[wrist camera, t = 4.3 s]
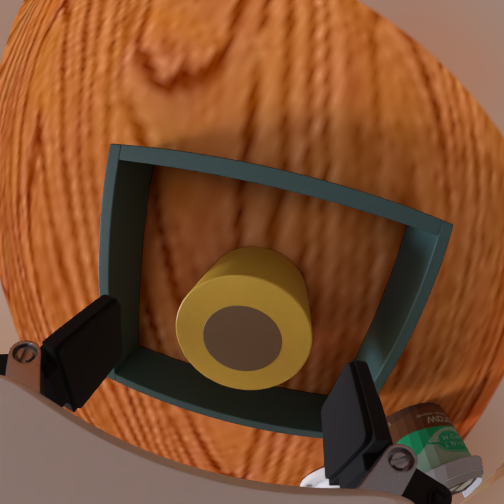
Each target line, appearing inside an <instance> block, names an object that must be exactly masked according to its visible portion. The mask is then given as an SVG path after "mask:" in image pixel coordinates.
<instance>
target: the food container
mask: <svg viewBox="0 0 504 504" xmlns="http://www.w3.org/2000/svg"><path fill="white" fill-rule="evenodd" d="M386 420H387V424H388V427H389V431H390V434H391V438H392V442H393V444H404V445H406V446H409V447H410V448H411V449H413V451H414V452H415V453H416V455H417V458H418V465H417V469H419V470H420V471H422V472H424V473H425V474H427V475H428V476H430V477H432V478H433V479H435V480H436V481H438V482H440V483H441V484H443V485H445V486H446V487H447V488H448V489H449V490H450V492H451V495H454V494H457V493H459V492H462V493H463V495H464V497H467V496H468V495H469V494H470V493H471V492H473V491H474V490H475V489H476V488H477V487H478V486H479V485H480V483H481V482H482V475H483V466H482V459H481V457H480V456H477V455H476V456H471V455H470V453H469V451H468V449H467V447H466V446H465V444H464V442H463V441H462V439H461V437H460V436H459V434H458V432H457V431H456V429H455V428H454V426H453V424H452V423H451V421H450V420H449V418H448V416H447V415H446V413H445V412H444V410H443V409H442V408H441V407H440V405H437V404H434V403H423V404H418V405H414V406H411V407H408V408H405V409H403V410H400V411H398V412H396V413H394V414H392V415H390V416H389V417H387V418H386Z"/></svg>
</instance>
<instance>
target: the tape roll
mask: <svg viewBox="0 0 504 504" xmlns="http://www.w3.org/2000/svg"><path fill="white" fill-rule="evenodd" d="M176 334H177V339H178V342H179V345H180V347H181V350H182V351H183V353H184V355H185V357H186V358H187V359H188V361H189V362H190V363H191V364H192V365H193V366H194V367H195V368H196V369H197V370H198V371H199V372H200V373H202V374H203V375H204V376H206V377H207V378H209V379H211V380H213V381H214V382H217V383H219V384H221V385H224V386H227V387H231V388H235V389H242V390H260V389H266V388H270V387H273V386H277V385H279V384H281V383H283V382H285V381H287V380H288V379H290V378H291V377H293V376H294V375H295V374H296V373H297V372H298V371H299V370H300V369H301V368H302V367H303V365H304V364H305V362H306V361H307V359H308V357H309V354H310V351H311V348H312V342H313V333H312V324H311V316H310V308H309V300H308V293H307V287H306V283H305V281H304V278H303V276H302V274H301V272H300V271H299V270H298V268H297V267H296V266H295V265H294V264H293V263H292V262H291V261H290V260H289V259H288V258H287V257H285V256H283V255H282V254H280V253H278V252H276V251H274V250H270V249H267V248H262V247H244V248H239V249H236V250H233V251H231V252H229V253H227V254H225V255H223V256H222V257H221V258H219V259H218V260H217V261H216V262H215V263H214V264H213V266H212V267H211V268H210V269H209V270H208V271H207V272H206V274H205V275H204V276H203V277H202V278H201V279H200V280H199V282H198V283H197V284H196V285H195V286H194V287H193V288H192V290H191V291H190V292H189V293H188V294H187V296H186V297H185V298H184V300H183V301H182V303H181V305H180V307H179V310H178V313H177V318H176Z"/></svg>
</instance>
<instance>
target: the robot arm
mask: <svg viewBox="0 0 504 504" xmlns="http://www.w3.org/2000/svg"><path fill="white" fill-rule="evenodd" d="M42 343H43V345H42V346H41V347H39V345H38V344H36V343H35V342H33V341H28V340H24V341H20V342H17V343H16V344H14V345H13V346H12V347H11V348H10V351H9V354H0V504H451V501H452V495H451V492H450V490H449V489H448V488H447V487H446V486H445V485H443V484H441V483H440V482H438V481H436V480H435V479H433V478H432V477H430V476H428V475H427V474H425V473H424V472H422V471H420V470H419V469H417V465H418V458H417V455H416V453H415V452H414V451H413V449H411V448H410V447H409V446H406V445H404V444H393V442H392V438H391V434H390V431H389V427H388V424H387V420H386V417H385V414H384V410H383V407H382V404H381V401H380V398H379V396H378V394H377V391H376V388H375V385H374V382H373V379H372V376H371V373H370V370H369V367H368V364H367V362H365V361H358V360H352V361H351V362H350V363H347V364H346V365H345V367H344V369H343V371H342V372H341V374H340V376H339V378H338V380H337V382H336V384H335V385H334V387H333V389H332V391H331V393H330V394H329V396H328V398H327V399H326V401H325V403H324V405H323V406H322V410H321V419H322V432H323V448H324V468H321V469H319V470H317V471H315V472H313V473H311V474H310V475H308V476H306V477H305V478H304V479H303V480H302V482H301V484H300V486H289V485H279V484H271V483H264V482H257V481H251V480H246V479H241V478H236V477H231V476H226V475H222V474H218V473H214V472H210V471H206V470H202V469H199V468H195V467H192V466H188V465H185V464H182V463H179V462H176V461H173V460H170V459H167V458H164V457H162V456H159V455H156V454H154V453H151V452H148V451H146V450H144V449H141V448H139V447H136V446H134V445H132V444H129V443H127V442H125V441H123V440H121V439H119V438H116V437H114V436H112V435H110V434H108V433H106V432H104V431H102V430H100V429H99V428H97V427H95V426H93V425H91V424H89V423H88V422H86V421H84V420H82V419H81V418H79V417H77V416H75V415H74V414H72V413H70V412H69V411H67V410H65V409H64V408H62V407H63V406H64V407H66V408H68V409H69V410H71V411H72V412H75V411H76V409H77V408H81V407H82V406H83V405H84V404H85V403H86V402H87V400H88V399H89V398H90V397H91V395H92V394H93V393H94V391H95V390H96V389H97V388H98V387H99V385H100V384H101V383H102V382H103V380H104V379H105V378H106V377H107V375H108V374H109V373H110V372H111V371H112V369H113V368H114V367H115V366H116V364H117V363H118V362H119V361H120V360H121V358H122V355H123V347H122V331H121V307H120V304H119V303H118V300H117V299H116V298H114V297H111V296H109V295H106V294H104V295H102V296H101V297H99V298H98V299H97V300H95V301H94V302H93V303H91V304H90V305H89V306H87V307H86V308H85V309H83V310H82V311H81V312H79V313H78V314H77V315H76V316H74V317H73V318H72V319H70V320H69V321H68V322H67V323H65V324H64V325H63V326H62V327H60V328H59V329H58V330H57V331H55V332H54V333H53V334H52V335H50V336H49V337H48V338H47V339H45V340H44V341H43V342H42Z"/></svg>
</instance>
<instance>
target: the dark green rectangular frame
mask: <svg viewBox="0 0 504 504" xmlns="http://www.w3.org/2000/svg"><path fill="white" fill-rule="evenodd" d="M153 165H161V166H167V167H174V168H180V169H186V170H192V171H197V172H203V173H208V174H214V175H219V176H224V177H229V178H234V179H239V180H244V181H248V182H253V183H258V184H262V185H267V186H271V187H275V188H280V189H284V190H288V191H292V192H296V193H300V194H304V195H308V196H312V197H316V198H319V199H323V200H327V201H330V202H334V203H338V204H341V205H345V206H348V207H352V208H355V209H358V210H362V211H365V212H368V213H372V214H375V215H378V216H381V217H384V218H388V219H391V220H394V221H397V222H400V223H403V224H406V225H407V226H406V229H405V233H404V236H403V239H402V243H401V246H400V249H399V252H398V255H397V258H396V261H395V264H394V267H393V270H392V273H391V276H390V278H389V281H388V284H387V286H386V289H385V292H384V294H383V297H382V299H381V302H380V304H379V307H378V309H377V312H376V314H375V316H374V319H373V321H372V323H371V326H370V328H369V330H368V332H367V334H366V337H365V339H364V341H363V343H362V345H361V347H360V349H359V351H358V353H357V355H356V357H355V359H354V360H358V361H365V362H367V364H368V367H369V370H370V373H371V376H372V379H373V382H374V385H375V388H376V391H377V394H378V393H379V391H380V390H381V388H382V386H383V385H384V383H385V382H386V380H387V378H388V377H389V375H390V373H391V372H392V370H393V368H394V366H395V365H396V363H397V361H398V359H399V358H400V356H401V354H402V352H403V350H404V348H405V346H406V345H407V343H408V341H409V339H410V337H411V335H412V333H413V331H414V329H415V327H416V324H417V322H418V320H419V318H420V316H421V314H422V311H423V309H424V307H425V305H426V302H427V300H428V297H429V295H430V293H431V290H432V288H433V285H434V282H435V280H436V277H437V274H438V272H439V269H440V266H441V263H442V260H443V257H444V254H445V251H446V248H447V245H448V242H449V238H450V235H451V231H452V228H453V225H452V224H451V223H448V222H446V221H443V220H441V219H438V218H436V217H433V216H431V215H428V214H426V213H423V212H420V211H418V210H415V209H412V208H410V207H407V206H404V205H401V204H398V203H395V202H393V201H390V200H387V199H384V198H381V197H378V196H374V195H371V194H368V193H365V192H362V191H359V190H355V189H352V188H349V187H345V186H342V185H338V184H335V183H331V182H328V181H324V180H320V179H317V178H313V177H309V176H305V175H301V174H297V173H293V172H289V171H284V170H280V169H276V168H271V167H267V166H262V165H257V164H253V163H248V162H243V161H238V160H232V159H227V158H221V157H216V156H210V155H204V154H197V153H191V152H184V151H177V150H169V149H161V148H153V147H143V146H133V145H122V144H110V149H109V154H108V160H107V167H106V173H105V181H104V189H103V198H102V208H101V220H100V237H99V297H101V296H102V295H104V294H106V295H109V296H111V297H114V298H116V299H117V300H118V303H119V304H120V307H121V331H122V347H123V355H122V358H121V360H120V361H119V362H118V363H117V364H116V366H115V367H114V368H113V369H112V371H111V372H110V373H109V374H108V375H107V377H108V378H110V379H112V380H115V381H117V382H119V383H121V384H123V385H125V386H127V387H130V388H132V389H134V390H137V391H139V392H141V393H144V394H146V395H149V396H151V397H154V398H156V399H159V400H161V401H164V402H167V403H169V404H172V405H175V406H178V407H181V408H184V409H187V410H190V411H193V412H196V413H199V414H202V415H206V416H209V417H213V418H216V419H220V420H223V421H227V422H231V423H235V424H239V425H244V426H248V427H253V428H257V429H262V430H267V431H273V432H279V433H285V434H291V435H298V436H306V437H314V438H323V432H322V419H321V410H322V406H323V405H324V403H325V401H326V399H327V398H328V396H326V395H320V394H313V393H307V392H301V391H295V390H290V389H285V388H280V387H275V386H273V387H270V388H266V389H260V390H242V389H235V388H231V387H227V386H224V385H221V384H219V383H217V382H214V381H213V380H211V379H209V378H207V377H206V376H204V375H203V374H202V373H200V372H199V371H198V370H197V369H196V368H195V367H194V366H193V365H191V364H188V363H185V362H182V361H179V360H176V359H173V358H171V357H168V356H165V355H162V354H159V353H157V352H154V351H151V350H149V349H146V348H144V347H141V346H139V293H140V273H141V259H142V247H143V236H144V227H145V218H146V210H147V203H148V196H149V189H150V183H151V177H152V171H153Z"/></svg>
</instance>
